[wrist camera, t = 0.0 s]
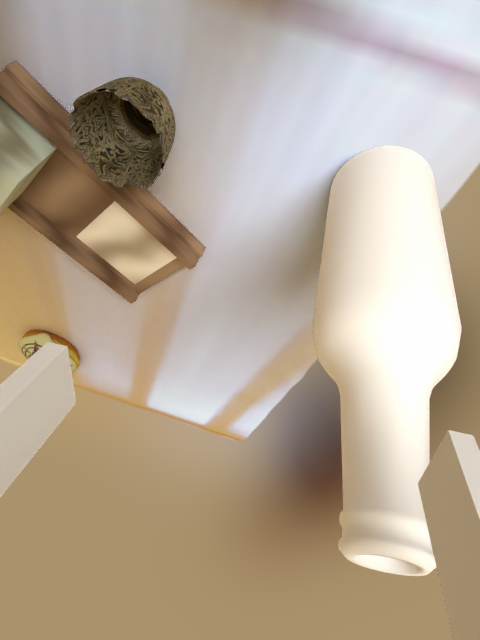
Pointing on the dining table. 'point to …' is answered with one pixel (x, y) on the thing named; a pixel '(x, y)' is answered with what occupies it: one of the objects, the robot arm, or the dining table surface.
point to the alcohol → (385, 347)
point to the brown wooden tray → (82, 196)
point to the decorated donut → (39, 338)
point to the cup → (124, 131)
